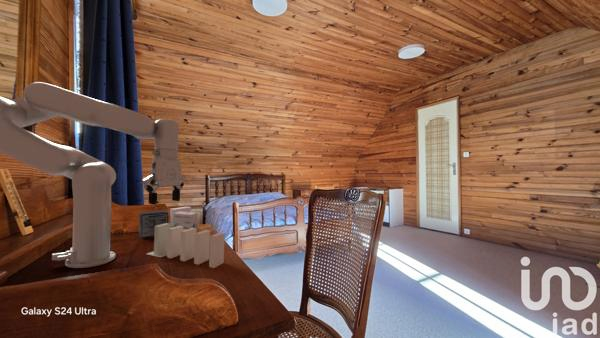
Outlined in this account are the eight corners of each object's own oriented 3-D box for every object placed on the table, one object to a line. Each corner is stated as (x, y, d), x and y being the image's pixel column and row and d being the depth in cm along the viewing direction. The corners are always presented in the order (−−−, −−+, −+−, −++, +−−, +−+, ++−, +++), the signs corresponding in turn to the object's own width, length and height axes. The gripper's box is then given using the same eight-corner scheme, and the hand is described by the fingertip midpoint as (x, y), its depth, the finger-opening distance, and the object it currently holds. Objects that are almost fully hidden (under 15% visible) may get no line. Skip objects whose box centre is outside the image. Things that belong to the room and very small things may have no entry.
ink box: (171, 241, 106) (172, 213, 106) (178, 238, 111) (179, 211, 111) (191, 243, 105) (192, 214, 105) (197, 239, 110) (198, 212, 110)
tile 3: (180, 260, 87) (181, 230, 87) (191, 255, 91) (192, 227, 91) (184, 261, 86) (185, 231, 86) (195, 256, 91) (196, 228, 91)
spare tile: (169, 250, 95) (170, 223, 95) (157, 254, 90) (158, 226, 90) (165, 249, 96) (166, 223, 96) (153, 254, 91) (154, 225, 91)
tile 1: (209, 267, 82) (210, 235, 82) (219, 261, 87) (220, 232, 87) (213, 268, 82) (214, 236, 82) (223, 262, 87) (224, 233, 86)
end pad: (146, 254, 91) (146, 253, 91) (163, 248, 98) (163, 248, 98) (160, 257, 89) (160, 257, 89) (177, 251, 95) (177, 251, 95)
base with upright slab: (177, 238, 112) (178, 210, 111) (164, 234, 116) (165, 208, 116) (195, 233, 119) (196, 207, 119) (182, 230, 124) (183, 205, 124)
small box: (164, 232, 120) (165, 209, 120) (168, 235, 115) (169, 211, 115) (138, 235, 113) (139, 211, 113) (140, 238, 108) (141, 214, 108)
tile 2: (194, 263, 85) (195, 233, 84) (204, 258, 89) (205, 230, 89) (198, 264, 84) (199, 234, 84) (208, 259, 89) (210, 230, 89)
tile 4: (166, 257, 89) (168, 228, 89) (178, 253, 94) (179, 225, 93) (170, 258, 88) (171, 229, 88) (182, 254, 93) (183, 226, 93)
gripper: (152, 153, 83) (150, 206, 83) (192, 156, 99) (191, 200, 99) (135, 153, 86) (134, 204, 86) (177, 155, 102) (176, 198, 102)
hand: (164, 202), depth 93 cm, fingers open, 9 cm apart
